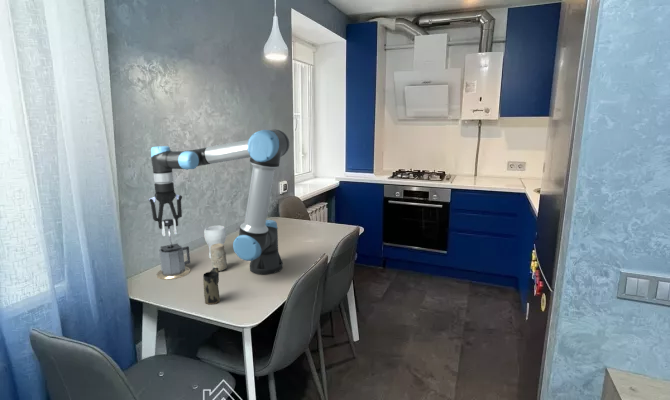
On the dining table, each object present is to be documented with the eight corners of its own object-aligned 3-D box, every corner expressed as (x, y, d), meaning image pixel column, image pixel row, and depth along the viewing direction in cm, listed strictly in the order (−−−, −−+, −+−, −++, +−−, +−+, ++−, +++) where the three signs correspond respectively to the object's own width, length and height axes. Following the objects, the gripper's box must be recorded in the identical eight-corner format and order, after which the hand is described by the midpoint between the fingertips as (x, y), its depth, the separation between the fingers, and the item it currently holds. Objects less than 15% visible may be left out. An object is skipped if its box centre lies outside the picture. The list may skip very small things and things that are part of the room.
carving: (218, 265, 174) (216, 241, 171) (230, 268, 170) (228, 244, 168) (208, 270, 168) (206, 245, 166) (220, 273, 165) (218, 248, 163)
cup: (221, 260, 180) (219, 231, 177) (201, 259, 182) (199, 230, 179) (231, 253, 191) (229, 225, 187) (212, 252, 193) (210, 224, 190)
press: (195, 273, 165) (192, 247, 162) (160, 282, 156) (157, 254, 154) (186, 264, 176) (184, 240, 173) (153, 271, 168) (150, 246, 165)
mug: (215, 305, 136) (212, 275, 134) (201, 304, 137) (199, 274, 135) (225, 295, 144) (223, 267, 141) (212, 294, 145) (210, 266, 142)
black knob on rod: (181, 261, 164) (177, 220, 160) (166, 264, 160) (161, 222, 157) (178, 257, 169) (173, 217, 165) (163, 260, 166) (158, 219, 162)
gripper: (182, 179, 165) (187, 229, 170) (140, 183, 155) (146, 235, 160) (186, 181, 159) (191, 232, 164) (143, 185, 150) (150, 240, 154)
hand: (169, 234), depth 162 cm, fingers closed on black knob on rod, 4 cm apart
